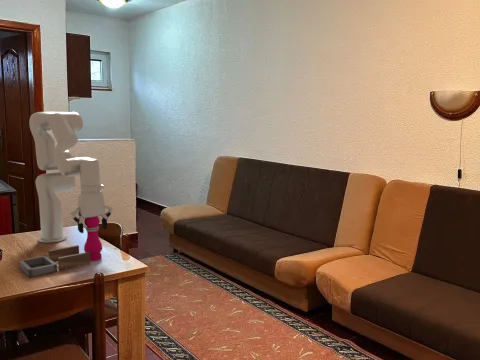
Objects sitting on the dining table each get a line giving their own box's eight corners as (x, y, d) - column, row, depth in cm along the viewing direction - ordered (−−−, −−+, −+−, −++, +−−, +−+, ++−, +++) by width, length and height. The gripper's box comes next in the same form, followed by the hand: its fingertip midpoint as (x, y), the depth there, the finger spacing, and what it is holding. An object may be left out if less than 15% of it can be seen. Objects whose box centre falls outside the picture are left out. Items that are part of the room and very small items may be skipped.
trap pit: (19, 267, 180) (18, 260, 179) (45, 262, 186) (45, 255, 186) (29, 277, 169) (29, 270, 169) (57, 272, 175) (57, 264, 175)
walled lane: (48, 262, 186) (48, 250, 186) (78, 256, 194) (77, 245, 193) (59, 271, 176) (58, 258, 176) (90, 264, 184) (89, 252, 183)
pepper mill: (97, 261, 187) (95, 213, 184) (81, 260, 189) (78, 212, 186) (105, 256, 194) (104, 209, 191) (90, 255, 196) (88, 209, 193)
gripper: (107, 186, 195) (109, 225, 198) (65, 190, 185) (68, 232, 187) (114, 188, 190) (116, 228, 192) (72, 192, 179) (75, 235, 181)
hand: (93, 230), depth 189 cm, fingers open, 9 cm apart
